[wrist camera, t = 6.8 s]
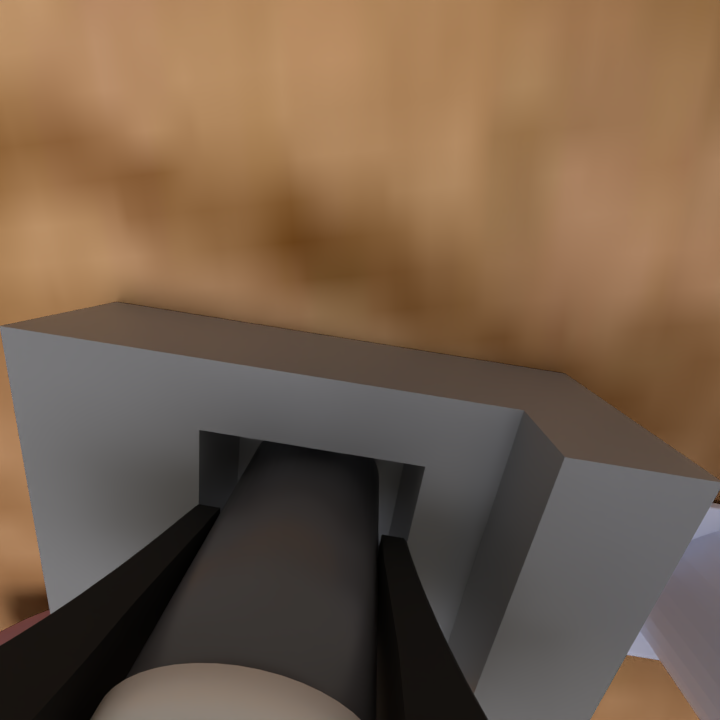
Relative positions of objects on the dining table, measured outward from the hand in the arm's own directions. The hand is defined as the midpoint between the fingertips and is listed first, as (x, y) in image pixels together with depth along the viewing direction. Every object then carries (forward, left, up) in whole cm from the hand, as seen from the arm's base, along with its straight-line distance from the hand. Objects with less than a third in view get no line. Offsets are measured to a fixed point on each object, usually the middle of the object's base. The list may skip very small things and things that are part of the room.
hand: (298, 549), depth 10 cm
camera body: (0, 0, -4) cm, 4 cm away
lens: (0, 0, -2) cm, 3 cm away
